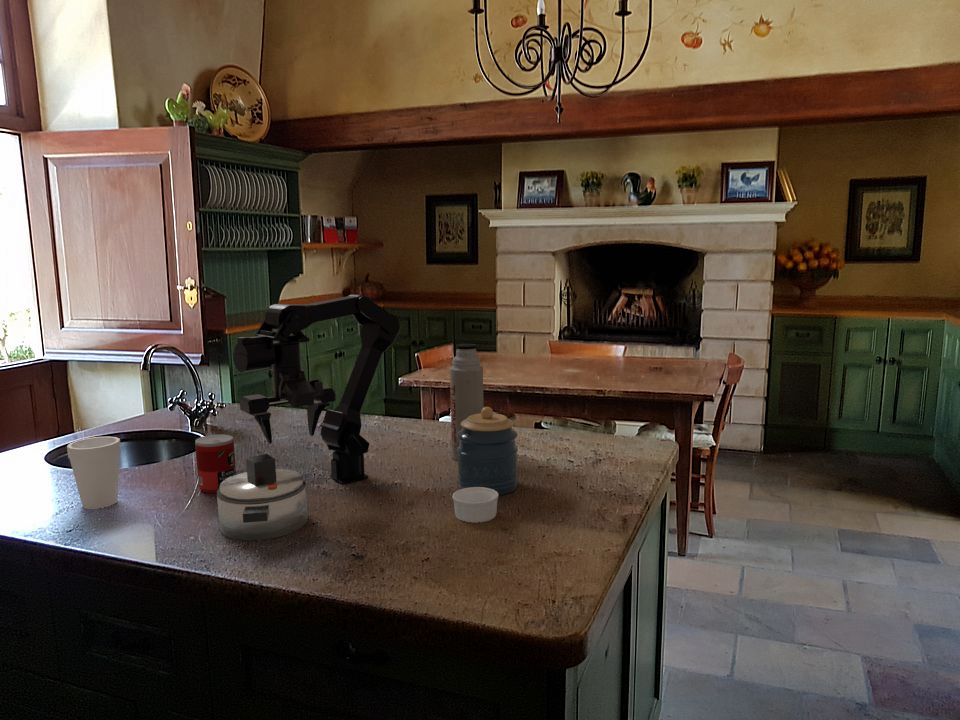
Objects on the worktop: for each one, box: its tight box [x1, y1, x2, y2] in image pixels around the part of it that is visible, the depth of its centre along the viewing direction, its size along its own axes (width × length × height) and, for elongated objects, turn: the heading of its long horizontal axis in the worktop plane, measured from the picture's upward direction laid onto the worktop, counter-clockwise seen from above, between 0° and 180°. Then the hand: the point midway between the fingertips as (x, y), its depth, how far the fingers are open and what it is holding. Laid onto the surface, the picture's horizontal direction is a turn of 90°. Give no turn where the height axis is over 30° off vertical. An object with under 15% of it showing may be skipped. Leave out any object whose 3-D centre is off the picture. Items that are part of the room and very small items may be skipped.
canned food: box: [194, 433, 237, 494], centre depth 154 cm, size 8×8×11 cm
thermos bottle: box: [449, 343, 485, 462], centre depth 172 cm, size 8×8×28 cm
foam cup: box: [66, 435, 122, 510], centre depth 145 cm, size 10×9×13 cm
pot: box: [216, 479, 309, 541], centre depth 134 cm, size 23×16×7 cm
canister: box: [457, 406, 519, 496], centre depth 151 cm, size 13×13×18 cm
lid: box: [220, 453, 304, 502], centre depth 133 cm, size 15×15×6 cm
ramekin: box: [452, 487, 500, 524], centre depth 137 cm, size 9×9×4 cm
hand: (291, 439), depth 148 cm, fingers open, 9 cm apart
